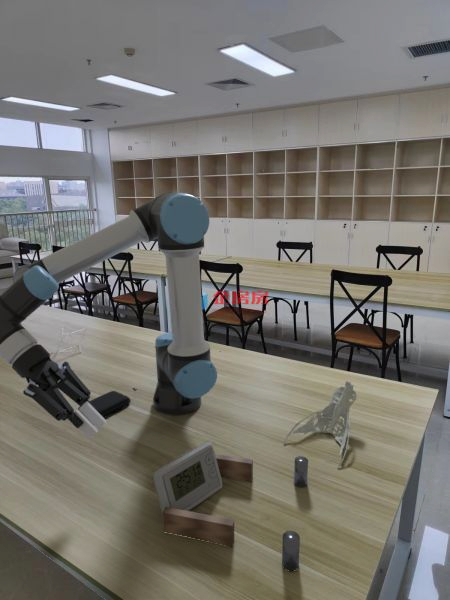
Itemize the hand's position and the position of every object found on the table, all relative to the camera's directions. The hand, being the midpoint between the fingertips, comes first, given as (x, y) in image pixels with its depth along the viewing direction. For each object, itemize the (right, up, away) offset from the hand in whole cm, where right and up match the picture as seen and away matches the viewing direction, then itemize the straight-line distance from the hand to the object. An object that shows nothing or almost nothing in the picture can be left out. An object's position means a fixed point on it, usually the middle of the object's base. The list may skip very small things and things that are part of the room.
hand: (98, 429), depth 92 cm
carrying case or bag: (-10, -5, +37) cm, 39 cm away
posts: (+43, -16, -7) cm, 46 cm away
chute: (+26, -15, -3) cm, 30 cm away
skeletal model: (+57, -8, +21) cm, 62 cm away
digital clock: (+21, -15, -2) cm, 26 cm away
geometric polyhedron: (-37, +7, +84) cm, 92 cm away
